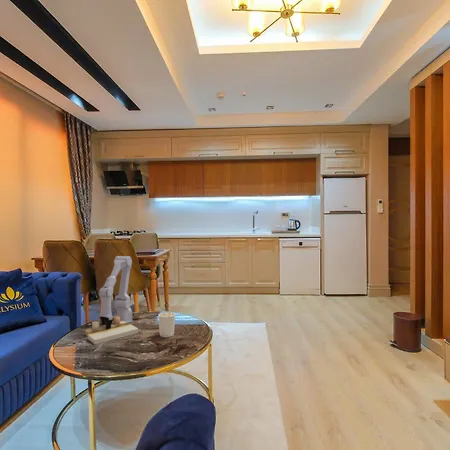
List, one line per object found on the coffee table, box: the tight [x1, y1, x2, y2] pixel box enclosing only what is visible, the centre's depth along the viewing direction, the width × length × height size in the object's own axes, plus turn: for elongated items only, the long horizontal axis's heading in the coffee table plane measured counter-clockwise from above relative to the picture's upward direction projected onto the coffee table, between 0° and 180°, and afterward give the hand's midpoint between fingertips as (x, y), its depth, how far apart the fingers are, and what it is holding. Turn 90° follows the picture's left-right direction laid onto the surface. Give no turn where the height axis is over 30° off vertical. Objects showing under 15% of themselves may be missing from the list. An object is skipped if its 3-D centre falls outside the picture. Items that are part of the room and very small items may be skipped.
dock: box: [87, 323, 139, 345], centre depth 187 cm, size 26×11×3 cm, turn 131°
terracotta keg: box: [112, 315, 120, 325], centre depth 199 cm, size 4×4×4 cm
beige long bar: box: [84, 321, 128, 338], centre depth 195 cm, size 24×5×4 cm, turn 131°
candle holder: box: [157, 311, 176, 338], centre depth 188 cm, size 10×10×12 cm
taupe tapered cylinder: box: [91, 320, 100, 330], centre depth 191 cm, size 4×4×4 cm
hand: (106, 328), depth 195 cm, fingers open, 5 cm apart
